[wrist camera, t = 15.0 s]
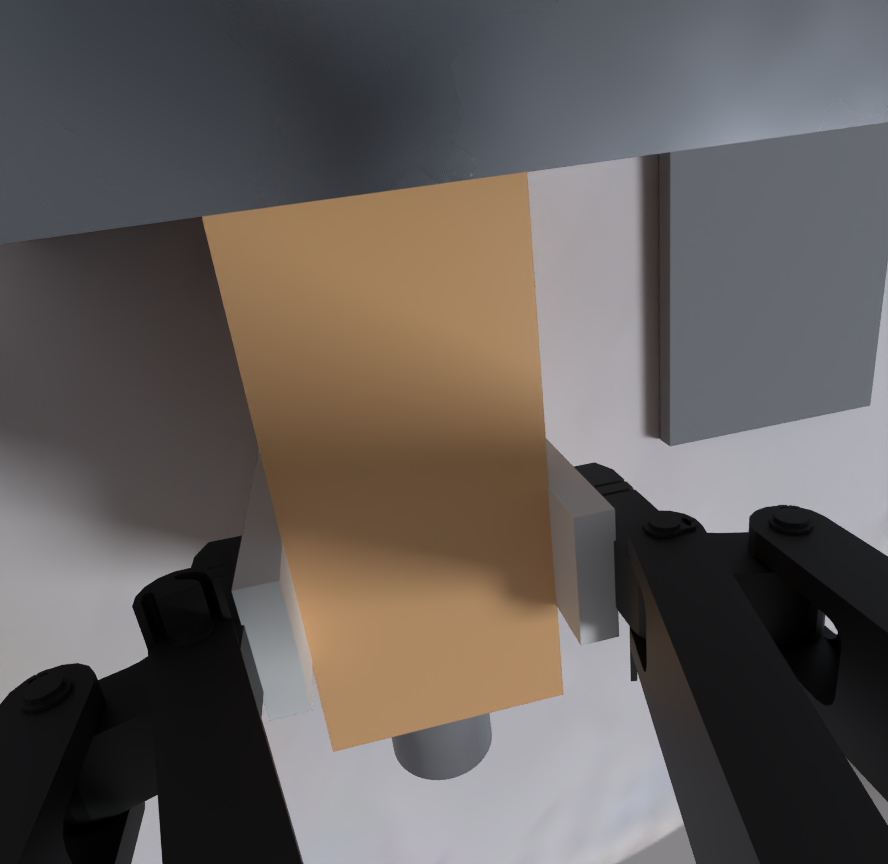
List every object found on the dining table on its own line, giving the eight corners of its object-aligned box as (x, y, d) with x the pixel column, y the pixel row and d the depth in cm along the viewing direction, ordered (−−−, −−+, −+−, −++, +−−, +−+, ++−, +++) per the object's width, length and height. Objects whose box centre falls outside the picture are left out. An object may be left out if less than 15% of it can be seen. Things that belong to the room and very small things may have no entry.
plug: (173, -114, 14) (53, -391, 7) (406, -129, 14) (488, -394, 8) (348, 673, 21) (365, 882, 15) (494, 639, 22) (572, 824, 15)
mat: (655, -602, 13) (671, -639, 12) (966, -592, 14) (995, -626, 13) (660, 439, 21) (669, 446, 20) (855, 399, 22) (869, 405, 21)
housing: (-69, -11, 13) (-811, -418, 5) (629, -71, 16) (1061, -430, 7) (19, 237, 15) (-389, 297, 6) (633, 154, 17) (976, 109, 8)
